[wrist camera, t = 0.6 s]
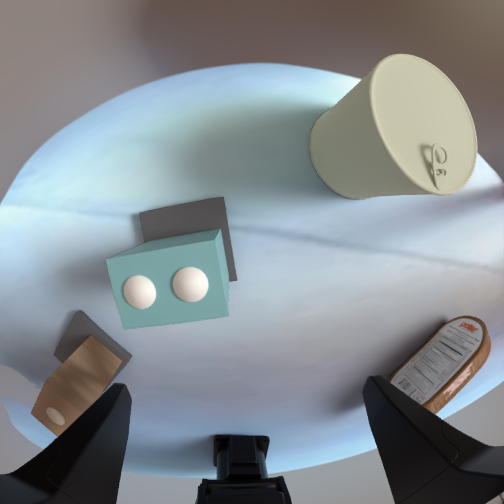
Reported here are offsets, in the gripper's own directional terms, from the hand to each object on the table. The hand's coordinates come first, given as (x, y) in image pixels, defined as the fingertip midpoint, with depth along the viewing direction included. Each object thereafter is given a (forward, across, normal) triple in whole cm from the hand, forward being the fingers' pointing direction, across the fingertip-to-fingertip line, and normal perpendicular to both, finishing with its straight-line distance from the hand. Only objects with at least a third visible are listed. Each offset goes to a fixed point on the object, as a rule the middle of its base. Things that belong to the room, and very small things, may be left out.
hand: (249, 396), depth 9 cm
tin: (+13, -22, +13) cm, 29 cm away
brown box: (+12, +15, +12) cm, 23 cm away
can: (+18, -11, -8) cm, 23 cm away
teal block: (+15, +4, +1) cm, 15 cm away
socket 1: (+13, +15, +12) cm, 23 cm away
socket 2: (+16, +4, +1) cm, 16 cm away
